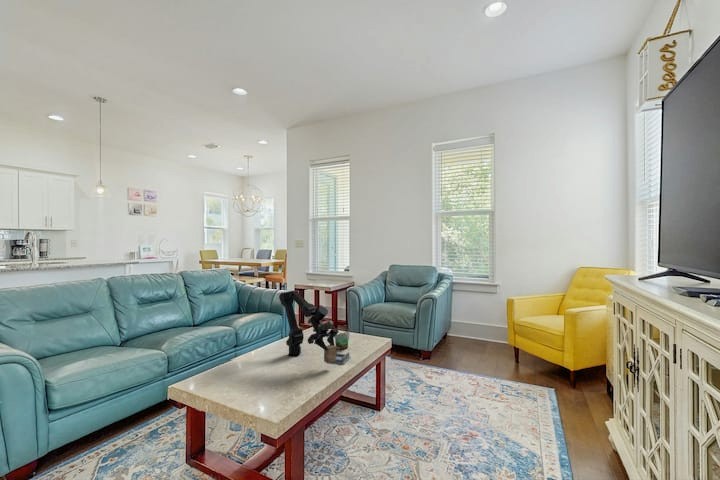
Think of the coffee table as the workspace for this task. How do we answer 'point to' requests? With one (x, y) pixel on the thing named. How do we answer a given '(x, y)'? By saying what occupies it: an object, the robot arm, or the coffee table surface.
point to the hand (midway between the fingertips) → (330, 349)
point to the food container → (342, 340)
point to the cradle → (341, 358)
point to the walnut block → (330, 354)
